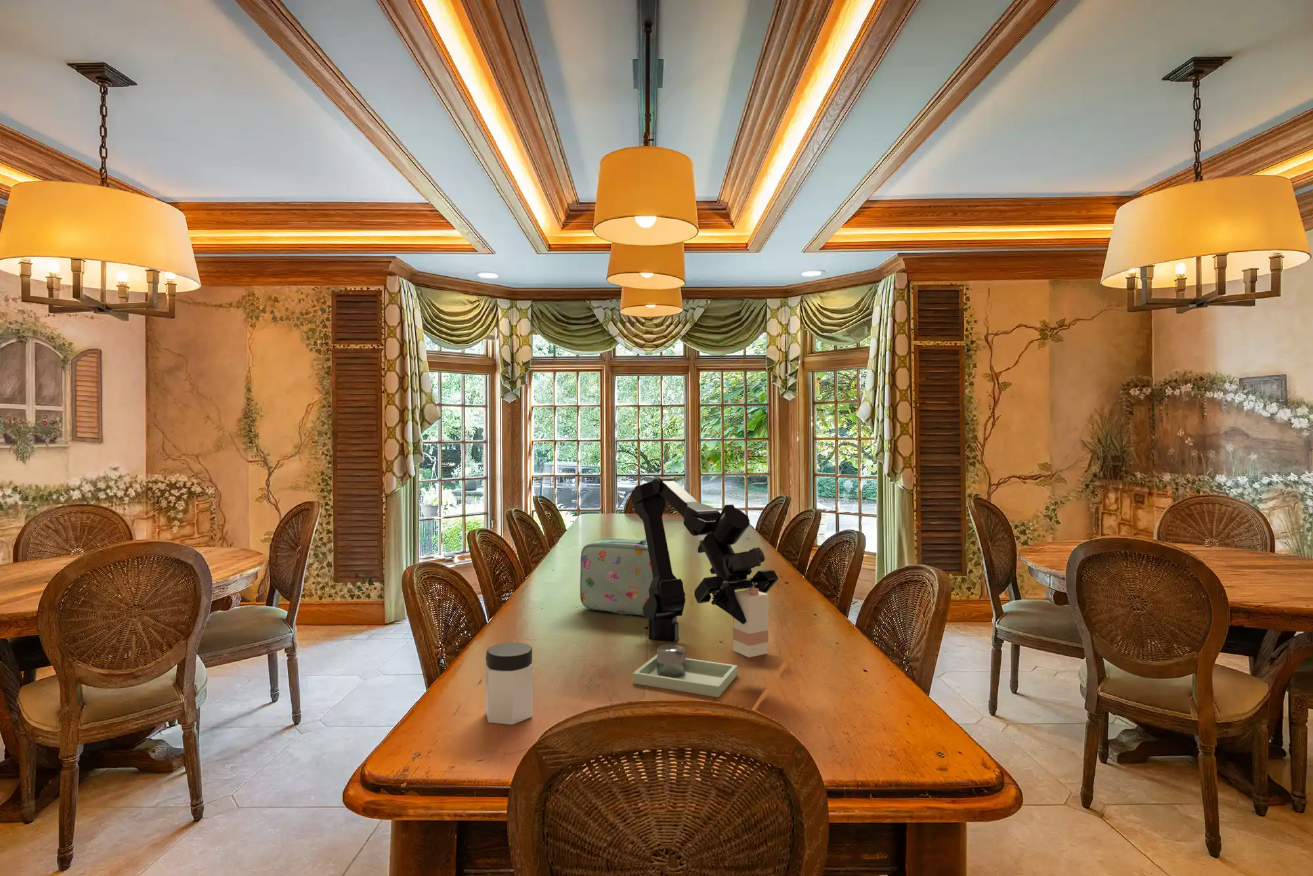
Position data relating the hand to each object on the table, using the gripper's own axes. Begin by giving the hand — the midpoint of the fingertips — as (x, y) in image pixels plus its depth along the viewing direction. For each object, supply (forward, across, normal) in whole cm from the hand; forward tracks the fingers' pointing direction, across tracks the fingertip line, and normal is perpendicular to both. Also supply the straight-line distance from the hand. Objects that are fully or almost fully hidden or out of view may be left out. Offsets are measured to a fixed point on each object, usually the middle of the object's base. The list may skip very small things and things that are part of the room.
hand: (755, 621), depth 138 cm
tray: (+4, -11, +16) cm, 19 cm away
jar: (+1, -47, +18) cm, 51 cm away
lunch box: (-35, +7, +55) cm, 66 cm away
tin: (0, -12, +18) cm, 21 cm away
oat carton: (+4, 0, +6) cm, 7 cm away
